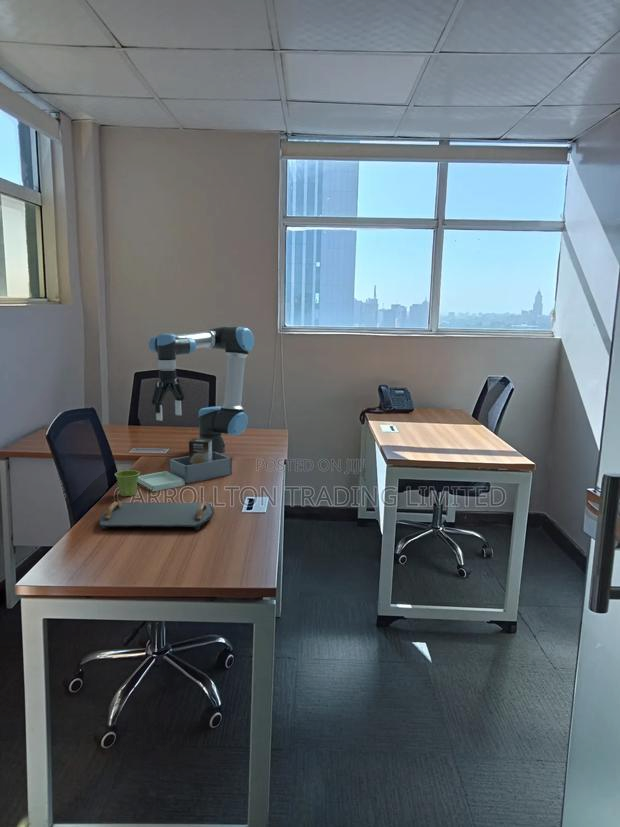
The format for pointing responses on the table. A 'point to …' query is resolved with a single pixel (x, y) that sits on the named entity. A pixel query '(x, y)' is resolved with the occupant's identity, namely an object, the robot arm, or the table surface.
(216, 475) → the grey storage bin
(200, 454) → the coffee box
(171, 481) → the tray
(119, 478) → the plant pot
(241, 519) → the table surface
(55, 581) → the table surface
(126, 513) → the serving board
